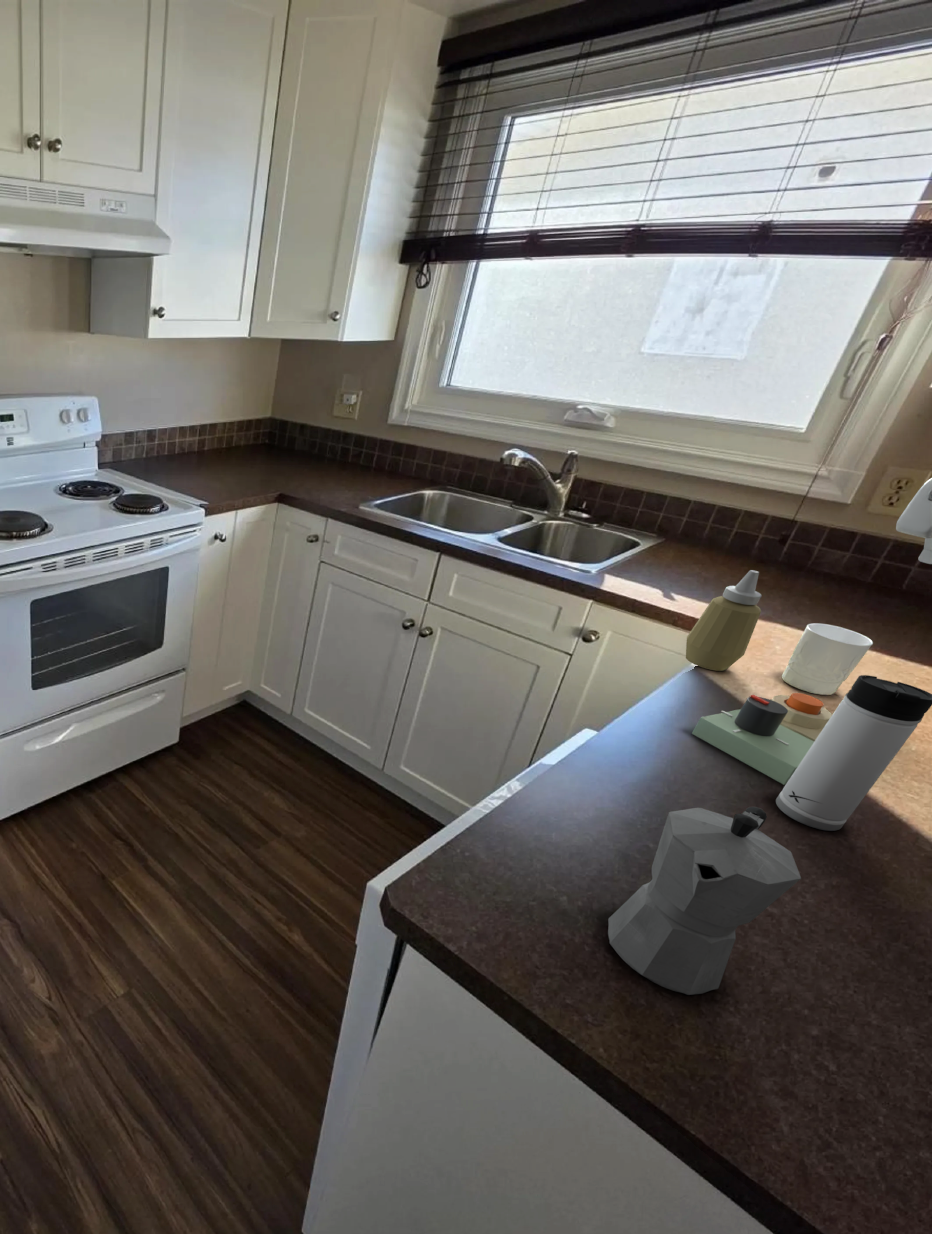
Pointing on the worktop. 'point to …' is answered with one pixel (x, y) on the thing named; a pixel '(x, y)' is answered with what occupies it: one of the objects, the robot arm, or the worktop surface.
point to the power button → (804, 703)
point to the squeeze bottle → (725, 626)
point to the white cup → (825, 658)
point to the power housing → (803, 719)
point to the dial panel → (755, 745)
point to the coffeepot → (700, 897)
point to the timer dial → (760, 716)
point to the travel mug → (852, 751)
